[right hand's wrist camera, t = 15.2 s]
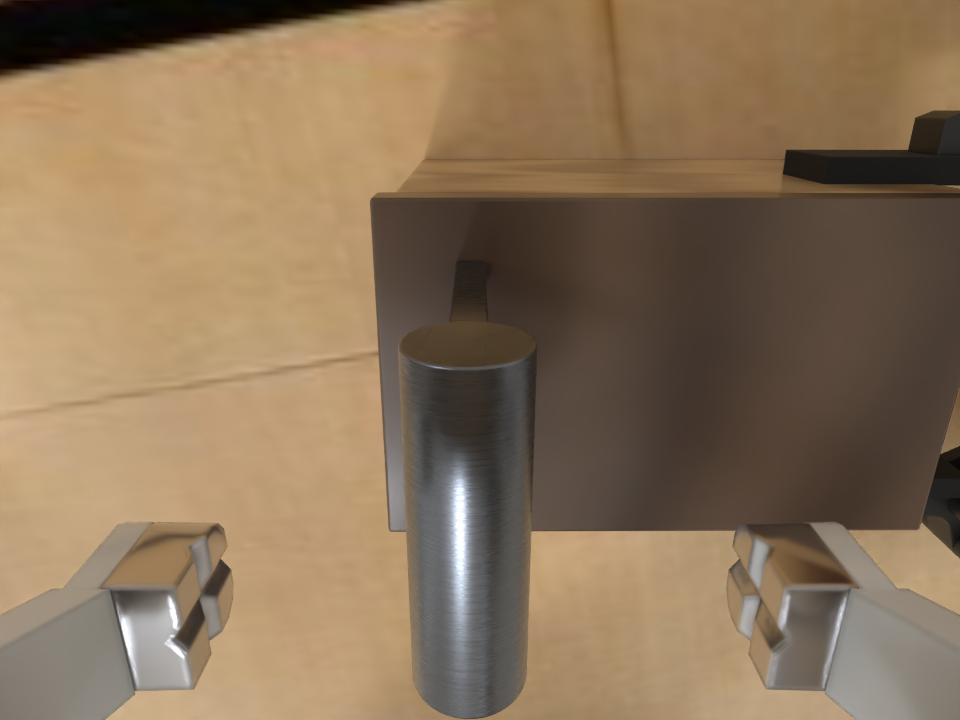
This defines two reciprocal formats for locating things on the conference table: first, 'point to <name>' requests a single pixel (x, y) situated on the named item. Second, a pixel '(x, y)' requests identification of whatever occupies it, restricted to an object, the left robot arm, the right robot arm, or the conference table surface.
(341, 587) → the conference table surface
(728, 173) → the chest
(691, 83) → the conference table surface
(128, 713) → the conference table surface
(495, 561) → the door
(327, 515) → the conference table surface
